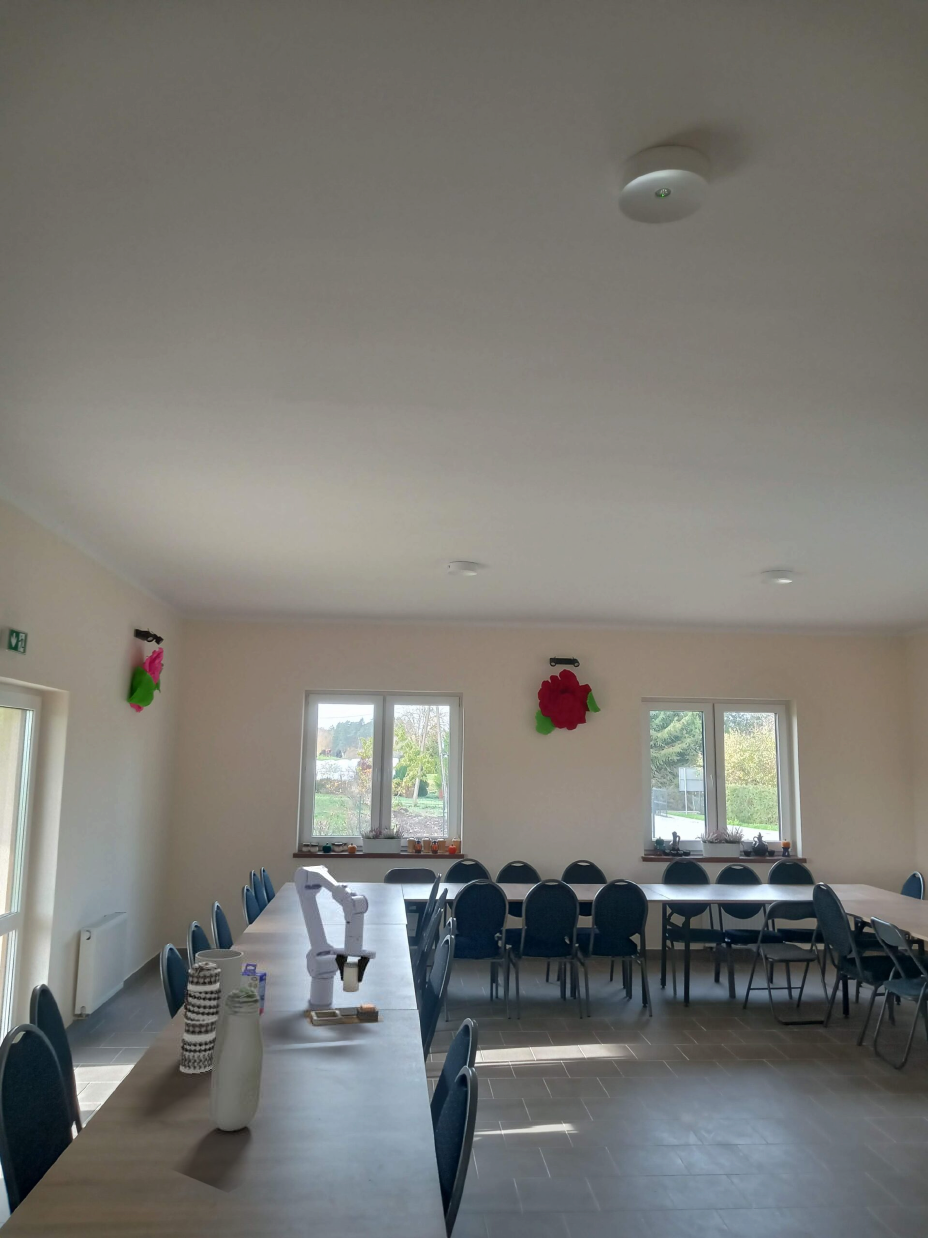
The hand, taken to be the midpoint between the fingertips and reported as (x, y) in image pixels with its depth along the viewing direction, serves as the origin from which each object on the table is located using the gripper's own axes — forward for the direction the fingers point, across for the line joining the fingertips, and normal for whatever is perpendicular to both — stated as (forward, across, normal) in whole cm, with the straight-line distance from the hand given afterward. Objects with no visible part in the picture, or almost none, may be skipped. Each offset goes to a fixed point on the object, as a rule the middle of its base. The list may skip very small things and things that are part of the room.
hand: (351, 981), depth 267 cm
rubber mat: (+9, 0, 0) cm, 9 cm away
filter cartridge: (+3, 0, 0) cm, 3 cm away
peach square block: (+9, -7, +4) cm, 12 cm away
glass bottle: (+10, -7, +86) cm, 87 cm away
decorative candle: (+10, +19, +56) cm, 61 cm away
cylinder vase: (+10, +22, +45) cm, 51 cm away
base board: (+10, 0, +5) cm, 11 cm away
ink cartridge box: (+10, +30, +10) cm, 33 cm away
